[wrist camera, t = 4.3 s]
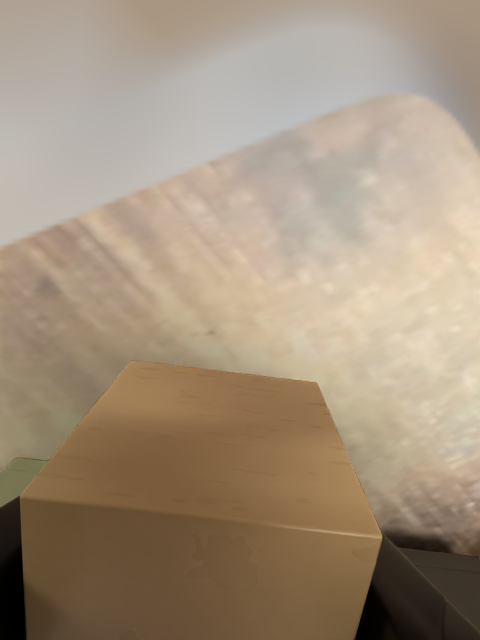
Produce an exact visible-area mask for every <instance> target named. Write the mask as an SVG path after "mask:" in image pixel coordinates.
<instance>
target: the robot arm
mask: <svg viewBox="0 0 480 640" xmlns="http://www.w3.org/2000/svg"><path fill="white" fill-rule="evenodd" d="M20 496H21V495H20ZM20 496H18V497H16V498H15V499H13V500H11V501H10V502H8V503H6V504H5V505H3V506H1V507H0V640H26V628H25V605H24V581H23V558H22V535H21V511H20ZM381 533H382V532H381ZM382 537H383V538H382V543H381V546H380V550H379V554H378V557H377V561H376V564H375V568H374V572H373V575H372V579H371V582H370V586H369V590H368V593H367V597H366V600H365V604H364V608H363V611H362V615H361V618H360V622H359V626H358V629H357V633H356V636H355V640H480V631H479V630H478V629H477V628H476V627H475V626H474V625H473V624H472V623H471V622H470V621H469V620H468V619H467V618H466V617H465V616H464V615H463V614H462V613H461V612H460V611H459V610H458V609H457V608H456V607H455V606H454V605H453V604H452V603H451V602H450V601H449V600H446V601H445V596H444V595H443V594H442V593H441V592H440V591H439V590H438V589H437V588H436V587H435V586H434V585H433V584H432V583H431V582H430V581H429V580H428V579H427V578H426V577H425V576H424V575H423V574H422V573H421V572H420V571H419V570H418V569H417V568H416V567H415V566H414V565H413V564H412V562H411V561H410V560H409V559H408V558H407V557H406V556H405V555H404V554H403V553H402V552H401V551H400V550H399V549H398V548H397V547H396V546H395V545H394V544H393V543H392V542H391V541H390V540H389V539H388V538H387V537H386V536H385V535H384V534H383V533H382Z"/></svg>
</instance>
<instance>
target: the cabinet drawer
mask: <svg viewBox="0 0 480 640" xmlns="http://www.w3.org/2000/svg"><path fill="white" fill-rule="evenodd" d="M397 548H398V547H397ZM398 549H399V550H400V551H401V552H402V553H403V554H404V555H405V556H406V557H407V558H408V559H409V560H410V561H411V562H412V564H413V565H414V566H415V567H416V568H417V569H418V570H419V571H420V572H421V573H422V574H423V575H424V576H425V577H426V578H427V579H428V580H429V581H430V582H431V583H432V584H433V585H434V586H435V587H436V588H437V589H438V590H439V591H440V592H441V593H442V594H443V595H444V596H445V601H446V600H449V601H450V602H451V603H452V604H453V605H454V606H455V607H456V608H457V609H458V610H459V611H460V612H461V613H462V614H463V615H464V616H465V617H466V618H467V619H468V620H469V621H470V622H471V623H472V624H473V625H474V626H475V627H476V628H477V629H478V630H479V631H480V559H479V558H478V557H477V556H468V555H459V554H451V553H442V552H433V551H424V550H416V549H407V548H398Z"/></svg>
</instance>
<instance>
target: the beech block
mask: <svg viewBox="0 0 480 640" xmlns="http://www.w3.org/2000/svg"><path fill="white" fill-rule="evenodd" d="M20 511H21V535H22V558H23V581H24V605H25V628H26V640H355V636H356V633H357V629H358V626H359V622H360V618H361V615H362V611H363V608H364V604H365V600H366V597H367V593H368V590H369V586H370V582H371V579H372V575H373V572H374V568H375V564H376V561H377V557H378V554H379V550H380V546H381V543H382V538H383V537H382V533H381V531H380V529H379V526H378V524H377V522H376V519H375V517H374V515H373V512H372V510H371V508H370V505H369V503H368V501H367V498H366V496H365V494H364V491H363V489H362V487H361V484H360V482H359V480H358V477H357V475H356V473H355V470H354V468H353V466H352V463H351V461H350V459H349V456H348V454H347V452H346V449H345V447H344V445H343V442H342V440H341V438H340V435H339V433H338V431H337V428H336V426H335V424H334V421H333V419H332V417H331V414H330V412H329V410H328V407H327V405H326V403H325V400H324V398H323V396H322V393H321V391H320V389H319V386H318V384H317V383H316V382H308V381H300V380H292V379H283V378H275V377H267V376H258V375H250V374H242V373H233V372H225V371H217V370H209V369H200V368H192V367H184V366H175V365H167V364H159V363H151V362H142V361H134V360H132V361H130V362H129V364H128V365H127V366H126V367H125V368H124V370H123V371H122V372H121V373H120V375H119V376H118V377H117V378H116V379H115V381H114V382H113V383H112V384H111V385H110V387H109V388H108V389H107V390H106V391H105V393H104V394H103V395H102V396H101V398H100V399H99V400H98V401H97V402H96V404H95V405H94V406H93V407H92V408H91V410H90V411H89V412H88V413H87V415H86V416H85V417H84V418H83V419H82V421H81V422H80V423H79V424H78V425H77V427H76V428H75V429H74V430H73V431H72V433H71V434H70V435H69V436H68V438H67V439H66V440H65V441H64V442H63V444H62V445H61V446H60V447H59V448H58V450H57V451H56V452H55V453H54V455H53V456H52V457H51V458H50V459H49V461H48V462H47V463H46V464H45V465H44V467H43V468H42V469H41V470H40V471H39V473H38V474H37V475H36V476H35V478H34V479H33V480H32V481H31V482H30V484H29V485H28V486H27V487H26V488H25V490H24V491H23V492H22V493H21V496H20Z"/></svg>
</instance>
